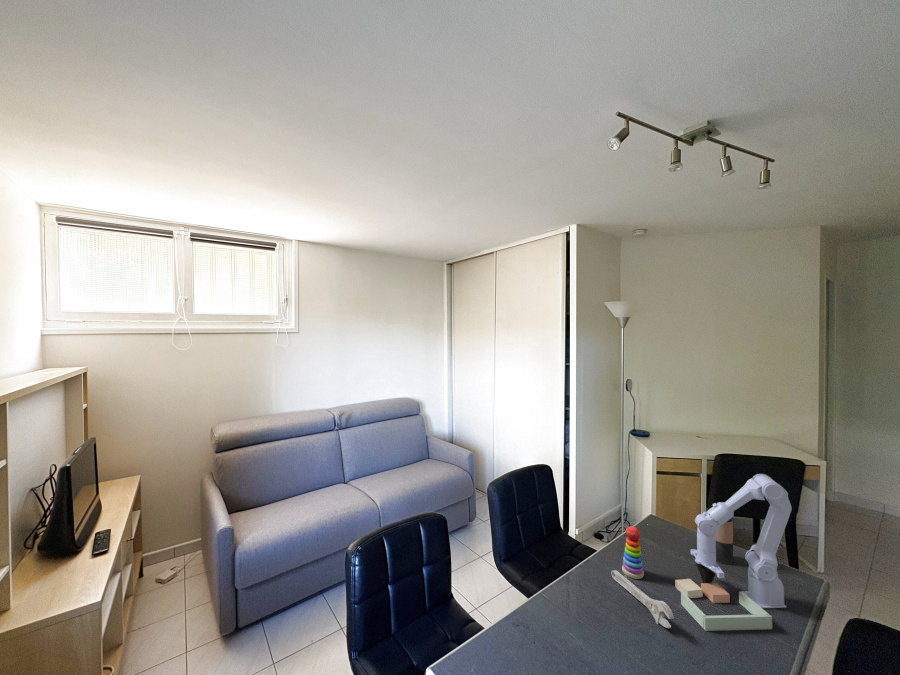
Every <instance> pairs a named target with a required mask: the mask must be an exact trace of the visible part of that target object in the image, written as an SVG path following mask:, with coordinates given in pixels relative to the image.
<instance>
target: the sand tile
mask: <svg viewBox="0 0 900 675" xmlns="http://www.w3.org/2000/svg"><path fill="white" fill-rule="evenodd" d="M674 581H675V582H674V583H675V584H674V586H675V589H677V591H679V592H680V594H681V593H684V594H685V595H686V596H687V597H688V598H689V599H697V598H703V597H704V594H703V589H701V586H699V585H698V584H697V583H696V582H694V581H693V580H692V579H691V578H683V579H675V580H674Z"/></svg>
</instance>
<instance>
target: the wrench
mask: <svg viewBox="0 0 900 675" xmlns="http://www.w3.org/2000/svg"><path fill="white" fill-rule="evenodd" d="M610 575H611V577H612V579H613V580H615V581H616V582H617V583H618V584H619V585H620V586H621V587H623V588H624V589H625V590H626V591H627V592H629V593H630V594H631V595H632V596H634V598H636V599H637V600H638V601H639V602H640V603H641V604H643V605H644V606H645V607H646V608H647V610H648V611H650V614H651V615H652V617H653V618H654V621H655V623H656V625H661V626H662V627H664V628H666V629H671V628H672V625H671V623H669V620H674V619H675V616H674V614H673V611H672V609H671V608H670V606H669V604H667V603H666V602H665V601H663V600H657V599H653V598H651V597H649V595H647V594H646V593H645V592H643V591H642V590H641V589H640V588H638V587H637V586H636V585H635V584H634V583H633V582H631V581H630V580H629V579H628V578H626V577H625V576H624V575H622V574H621V573H620V572H619V571H618V570H611V573H610ZM665 616H666V617H667V619H668V620H667V619H666V617H665Z"/></svg>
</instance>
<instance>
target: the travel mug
mask: <svg viewBox="0 0 900 675" xmlns="http://www.w3.org/2000/svg"><path fill="white" fill-rule="evenodd" d="M733 520H734V516H733V517H732V518H731V519H729V520H728V521H727V522H725V523H724V524H723V525H721V526H720V527H719V528H718V533H717V534H715V539H716V560H717V561H716V562H717V563H720V562H721V563H720V564H725V565H732V564H733V562H734V525H733V524H734V523H733Z"/></svg>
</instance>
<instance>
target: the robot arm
mask: <svg viewBox="0 0 900 675" xmlns="http://www.w3.org/2000/svg"><path fill="white" fill-rule="evenodd" d="M788 495H789V493H788V491H787V490H786V489H785V488H784V487H783V486H782V485H781V484H779V483H777V482H776V481H775V480H773V478H772V477H770V476H769V475H767V474H765V473H756V474H755V475H753V477H752V478H750V479H748V480H747V481H746V483H745V484H744V485H743V486H742V487H741V488H740V489H739V490H737V491H736V492H735V493H733V495H731V497H730V498H728V499H727V500H726V501H725V502H723V501H721V502H720V501H718V502H717V503H716V502H714V503H712V506H711V507H710V508H709V509H708V510H707V511H704V512H702V513H699V514H697V515H696V517H695V518H694V522H695V525H696V526H697V527H696V528H697V531H696V547H697V549H695V548H691V549H690V555H691V556H692V557H693V556H694V562H695V566H696V568H697V569H698V572H699V574H700V577H701V578H700V579H701V582H702V583H713V581H714V578H715V577H717V578H718V579H725V572H724V571H723V570H722V568H721V567H720V566H719V564H718V562H717V561H716V539H715V534H717V533H718V528H719V527H720V526H721V525H723V524H724V523H725V522H727V521H728V520H729V519H731V518H732V517H733V518H734V514H735V513H734V511H736V510H738V509H739V508H741V507H742V506H744V505H745V504H747V503H748V502H750V501H751V500H758V501H759V500H760V501H765V500H766V501H767V502H768V503H769V507H768V511H767V513H766V516H765V519H764V522H763V525H762V527H761V531H760V533H759V537H758V539H757V540H756V543H755V544H752V545H751V546H750V549H749V550H747V551H746V553H745V555H744V557H745V561H746V562H747V564H748V568H747V579H748V580H747V590H741V592H743V593H744V594H745V595H747V596H748V597H749V598H750V599H751V600H753V601H754V602H755V603H756V604H757V605H759V606H760V607H761V608H762V609H786V608H787V607H788V606H787V605H785V587H784V583H783V582H782V581H781V579H780V578H779V576H778V575H779V574H778V570H777V569H778V565H779V564H778V560H777V556H776V555H777V552H778V549H779V546H780V543H781V541H782V537H783V534H784V532H785V531H786V530H785V529H786V526H787V524H788V522H789V520H790V519H789V518H790V516H791V512H792V509H793V508H792V505H791V502H790V499H789V496H788Z"/></svg>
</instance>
